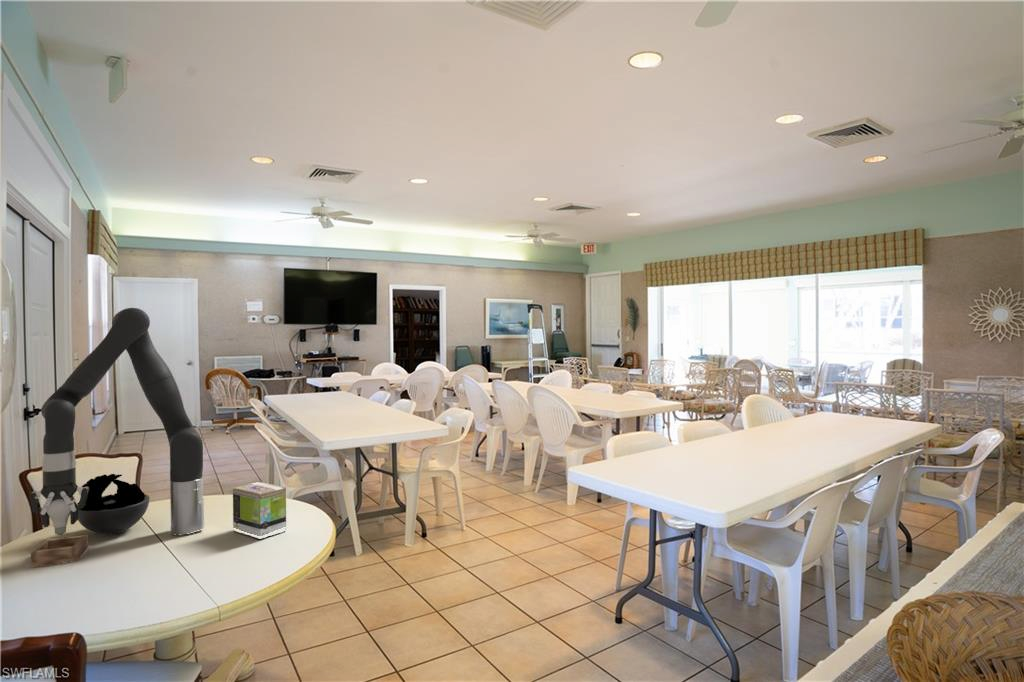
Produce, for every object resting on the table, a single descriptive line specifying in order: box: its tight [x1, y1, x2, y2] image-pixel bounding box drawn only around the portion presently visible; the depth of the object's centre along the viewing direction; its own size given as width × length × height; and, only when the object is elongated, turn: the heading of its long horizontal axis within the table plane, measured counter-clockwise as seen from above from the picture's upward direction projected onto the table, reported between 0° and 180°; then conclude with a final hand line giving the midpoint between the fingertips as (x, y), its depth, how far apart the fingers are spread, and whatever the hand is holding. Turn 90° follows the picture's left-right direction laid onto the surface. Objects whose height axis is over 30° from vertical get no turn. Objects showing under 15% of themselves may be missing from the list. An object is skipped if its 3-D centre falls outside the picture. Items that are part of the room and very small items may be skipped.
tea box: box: [232, 481, 287, 536], centre depth 186 cm, size 15×10×15 cm, turn 58°
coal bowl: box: [76, 473, 150, 535], centre depth 185 cm, size 20×20×19 cm
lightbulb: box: [47, 499, 71, 536], centre depth 165 cm, size 6×6×11 cm
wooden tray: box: [29, 534, 90, 568], centre depth 165 cm, size 11×11×4 cm
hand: (60, 524), depth 165 cm, fingers closed on lightbulb, 5 cm apart
